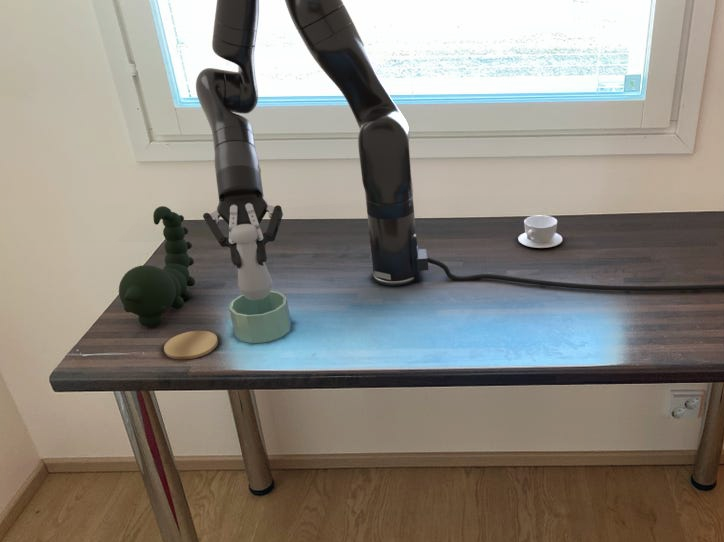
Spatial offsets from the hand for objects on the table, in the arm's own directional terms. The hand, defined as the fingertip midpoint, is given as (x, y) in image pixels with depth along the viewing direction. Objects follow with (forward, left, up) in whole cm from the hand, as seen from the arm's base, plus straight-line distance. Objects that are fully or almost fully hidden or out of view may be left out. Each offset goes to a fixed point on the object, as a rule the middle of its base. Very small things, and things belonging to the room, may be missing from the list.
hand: (250, 265), depth 127 cm
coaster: (+12, +3, -13) cm, 18 cm away
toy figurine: (+20, -13, -14) cm, 27 cm away
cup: (0, -1, -13) cm, 14 cm away
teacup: (-58, -32, -14) cm, 68 cm away
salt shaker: (0, -2, -7) cm, 7 cm away
